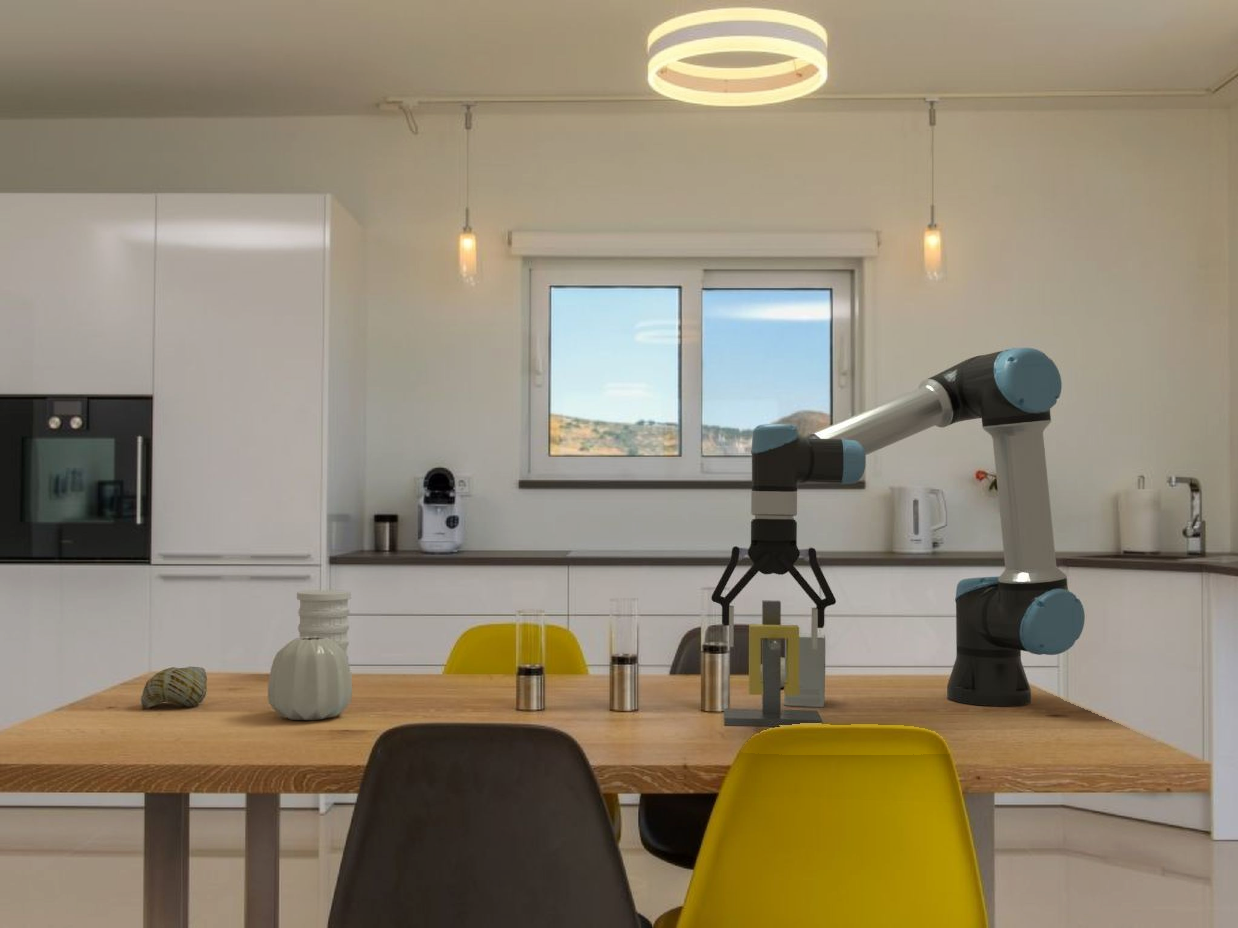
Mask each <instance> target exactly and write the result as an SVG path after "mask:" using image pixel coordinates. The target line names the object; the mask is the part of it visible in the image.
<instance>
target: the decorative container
mask: <svg viewBox="0 0 1238 928" xmlns="http://www.w3.org/2000/svg"><path fill="white" fill-rule="evenodd" d="M296 592H297V591H296ZM350 599H352V591H349V590H338V589H336V590H333V589H331V590H330V589H329V590H328V589H326V590H325V589H321V590H320V589H319V590H318V589H317V590H303V591H298V592H297V593H296V600H298V601H299V609H298V612H297V613H298V616H299V624H298V626H297V630H298V632H299V638H301V637H326V638H329V639H330V640H332V641H334V642H335V643H336V644H338V645H339V646H340V647H341V648H342V649H343V650H344V651H345V653H346V656H347V658H348V659H349V656H348V647H349V642H350V641H349V639H348V632H349V630H350V629H349V628H350V627H349V626H350V625H349V622H348V617H349V614H350V609H349V607H348V604H349V602H348V601H349V600H350ZM350 673H351V678H352V672H351V671H350Z"/></svg>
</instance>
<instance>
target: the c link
mask: <svg viewBox="0 0 1238 928" xmlns="http://www.w3.org/2000/svg"><path fill="white" fill-rule="evenodd" d="M799 633H800V626H799V625H797V624H781V625H762V624H749V625H748V694H749V695H753V696H754V695H755V696H756V695H758V696H762V695H763V681H762V680H761V664H762V638H781V639H785V638H787V681H784V688H783V692H784V696H785V695H798V696H799Z"/></svg>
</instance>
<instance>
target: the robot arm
mask: <svg viewBox="0 0 1238 928" xmlns="http://www.w3.org/2000/svg"><path fill="white" fill-rule="evenodd" d="M1062 388H1063V386H1062V376H1061V374H1060V371H1059V368H1058V366H1057V365H1056V364H1055V362H1054V361H1053V359H1051V358H1050V357H1049V356H1048V355H1047V354H1045V353H1044V351H1041V350H1039V349H1036V348H1032V347H1019V348H1017V347H1016V348H1015V347H1013V348H1009V349H1005V350H1001V351H996V352H995V351H994V352H991V353H987V354H982V355H977V356H976V355H975V356H973V357H970V358H968V359H965V360H963V361H962V362H959V363H957V364H956V365H953V366H951V367H950V368H947V369H945V370H944V371H941V372H939V373H936V374H935V375H933V376H931V377H928V378H926V379H923V380H922V381H921V382H920V384H919V385H918V388H917V389H914V390H912V391H909V392H908V393H905V394H903V395H900V396H898V397H895V398H892V399H890V400H888V401H886V402H883V403H881V404H879V405H876V406H874V407H871V408H869V409H867V410H865V411H862V412H859V413H857V414H855V415H852V416H850V417H847V418H845V419H843V420H841V421H838V422H835V423H834V424H831V425H828V426H826V427H824V428H821V429H819V430H817V431H814V432H812V433H810V434H808V435H805V436H803V437H801V436H800V434H799V429H798V427H797V426H796V425H794V424H787V423H786V424H785V423H764V424H759V425H757V426H755V428H754V429H753V431H752V432H753V433H752V439H751V450H750V454H751V495H750V497H751V498H750V499H751V503H750V504H751V507H750V508H751V509H750V514H751V515H752V516H754V518H753V519H751V522H750V546H749V547H748V548H746V547H739V546H737V545H734V546H732V548H731V555H730V556H731V557H730V559H729V562H728V564H727V565H726V567H725V569H724V572H723V574H722V575H721V577H720V579H719V581H718V583H717V585H716V587H715V589H714V591H713V593H712V595H711V597H710V598H711V601H712V602H713V603H716V604H719V605H720V606H721V623H722V626H724V627H727V626H728V647H729V648H734V638H735V637H734V634H735V632H734V629H735V628H734V624H735V622H734V621H735V620H734V619H735V607H734V606H735V605H730V604H731V603H732V602H733V601H734V600H735V598H736V597H737V596H738V595H739V594H741V592H742V591H743V589H744V588H746V586H747V585H748V584H749V583H750V582H751V580H752V579H754V577H755V576H757V574H758V573H760V574H763V575H771V574H775V575H779V576H780V575H784V574H787V573H789V574H790V576H791V577H792V578H793V579H794V580H795V581H796V583H797V584H798V585H799V586H800V587H801V589H802V590H803V591H804V592H805V593H806V595H807V596H808V597H809V598H810V599H811V600H812V602H813V603H814V604H815V605H816V606H815V607H811V628H810V629H811V632H810V633H811V647H812V649H817V634H819V633H818V630H819V629H824V627H825V610H826V608H827V607H830V606H833V605H835V604H836V602H837V600H836V598H835V596H834V593H833V592H832V589H831V587H830V585H829V583H828V581H827V579H826V578H825V575H824V573H823V570H822V568H821V567H820V563H818V558H817V550H816V549H815V548H814V547H808V548H804V549H799V547H798V541H797V539H798V535H797V534H798V521H797V520H796V519H794V517H796V516H797V515H798V485H815V484H818V485H819V484H821V485H822V484H835V485H837V484H839V485H844V484H845V485H846V484H856V483H858V482H859V481H860V480H861V479H862V478H863V475H864V473H865V469H866V465H867V464H866V461H867V460H866V455H869V454H872V453H874V452H876V451H879V450H880V449H883V448H886V447H888V446H890V445H893V444H895V443H898V442H900V441H902V440H904V439H906V438H909V437H911V436H914V435H916V434H918V433H921V432H923V431H924V430H925V431H926V430H928V429H930V428H933V427H938V428H945V427H948V426H950V425H953V424H955V423H959V422H960V423H961V422H964V421H970V420H971V421H972V420H975V419H976V420H977V419H981V423H982V429H983V430H984V431H985V432H986V433H988V434H989V435H990V436H991V438H992V447H993V456H994V465H995V476H996V477H995V478H996V486H997V487H996V488H997V496H998V505H999V517H1000V525H1001V526H1000V527H1001V537H1002V547H1003V557H1004V569H1005V570H1004V571H1003V572H1002V573H1001V574H1000V575H999V576H985V577H982V576H981V577H972V578H965V579H963V578H962V579H961V580H960V581H958V583H957V585H956V591H955V599H954V602H955V614H956V616H955V621H956V622H955V624H956V625H955V628H956V630H955V634H956V636H955V639H956V645H955V646H956V658H955V661H954V663H953V667H952V670H951V673H950V676H949V679H948V682H947V687H946V698H947V699H949V700H951V701H954V702H959V703H962V704H963V703H964V704H970V705H978V706H991V707H1009V706H1011V707H1012V706H1013V707H1015V706H1023V705H1028V704H1030V703H1032V690H1031V686H1030V684H1029V681H1028V677H1027V675H1026V672H1025V669H1024V668H1025V667H1024V665H1023V663H1022V651H1023V652H1028V653H1030V654H1032V655H1041V656H1042V655H1046V656H1053V655H1054V656H1055V655H1060V654H1063V653H1065V652H1066V651H1068V650H1070V649H1071V648H1072V647H1073V646H1074V645H1075V643H1076V641H1078V640H1079V639H1080V637H1081V635H1082V634H1083V633H1082V632H1083V630H1084V626H1085V622H1086V621H1085V617H1086V616H1085V608H1084V606H1083V604H1082V601H1081V600H1080V599H1079V598H1078V597H1077V595H1076V594H1074V593H1073V592H1072V591H1069V589H1068V579H1067V574H1066V573H1065V572H1063V571H1062V570H1061V569H1060V568H1059V567H1058V566H1057V559H1056V549H1055V541H1054V540H1055V539H1054V531H1053V529H1054V528H1053V520H1052V510H1051V508H1052V507H1051V499H1050V491H1049V481H1048V479H1049V478H1048V471H1047V460H1046V450H1045V449H1046V448H1045V438H1044V433H1045V432H1044V431H1045V430H1046V428H1048V427H1049V425H1050V424H1051V423H1052V417H1051V409H1052V408H1053V407H1054V406H1055V405H1056V404H1057V402H1058V401H1057V400H1058V399H1059V398H1060V397H1061V394H1062ZM745 556H748V557H749V559H750V560H751V562H752V563H753V564H752V565H751V566H750V568H749V569H748V570H747V571H746V572H745V573H744V574H743V576H741V578H740V579H739V580H738V582H736V583H735V585H734V586H733V587H732V588H731V589H730V590H729V592H728V593H727V594H726V595H725V596H723V595H722V594H723V592H724V590H725V588H726V586H727V584H728V582H729V580H730V578H731V576H732V574H733V572H734V571H735V569H736V567H737V565H738V562H739V561H742V560H743V559H744V557H745ZM800 557H802V558H803V560H804V562H808V565H809V566H810V567H809V568H810V569H811V571H812V572H813V575H814V577H815V579H816V581H817V583H818V585H819V587H820V589H821V591H822V594H823V595H824V597H825V598H821V596H819V594H817V592H816V591H815V589H814V588H813V587H812V586H811V585H810V583H808V581H807V580H806V579H805V578H804V577H803V575H802V574H801V572H799V570H798V569H797V568H796V567H795V565H794V564H795V563H796V562H797V561H798V558H800Z"/></svg>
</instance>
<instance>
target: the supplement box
mask: <svg viewBox="0 0 1238 928" xmlns="http://www.w3.org/2000/svg"><path fill="white" fill-rule="evenodd" d="M784 658H785V681H787V638H784ZM825 693H826V634H825V633H818V634H817V649H812V647H811V632H810V633H800V632H799V696H798V695H785V694H784V702H783V703H784V706H788V707H790V706H791V707H809V708H811V707H812V708H824V707H825V696H826V695H825Z"/></svg>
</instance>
